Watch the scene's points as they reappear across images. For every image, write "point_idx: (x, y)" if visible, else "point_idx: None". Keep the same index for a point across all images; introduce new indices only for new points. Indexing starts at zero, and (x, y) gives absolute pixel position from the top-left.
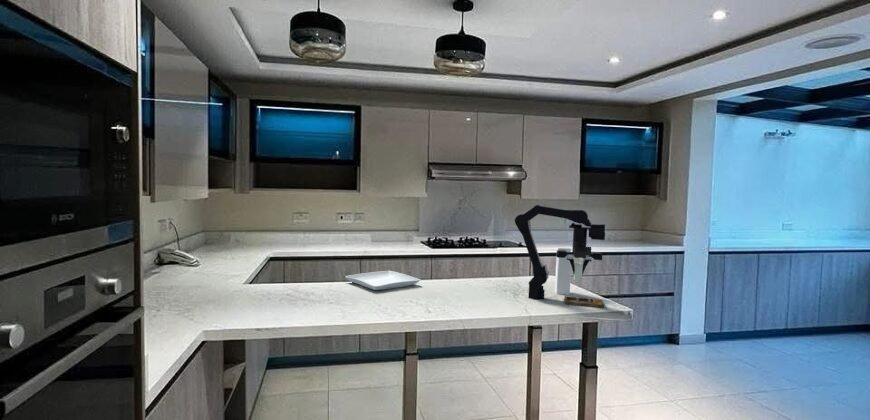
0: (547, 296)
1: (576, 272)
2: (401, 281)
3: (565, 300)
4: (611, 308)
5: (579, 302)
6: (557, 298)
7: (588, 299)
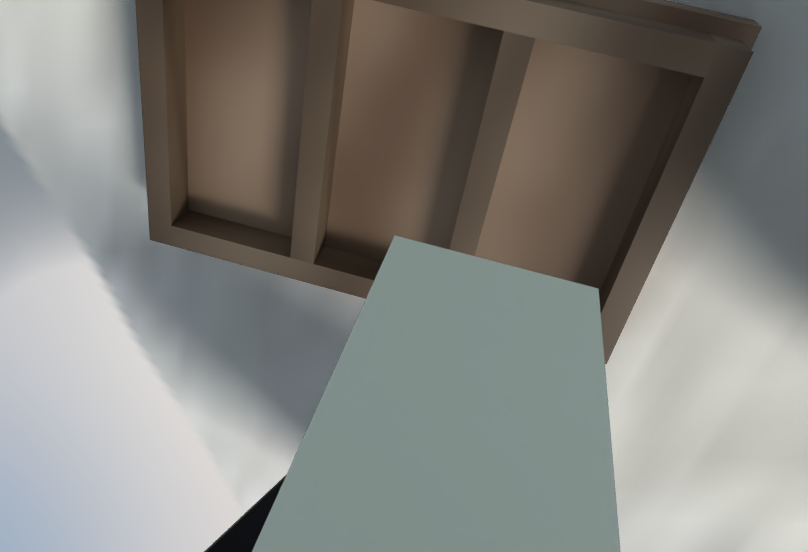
0: (742, 483)
1: (553, 472)
2: None
3: (711, 133)
4: (73, 14)
5: (504, 29)
6: (649, 412)
7: (314, 226)
